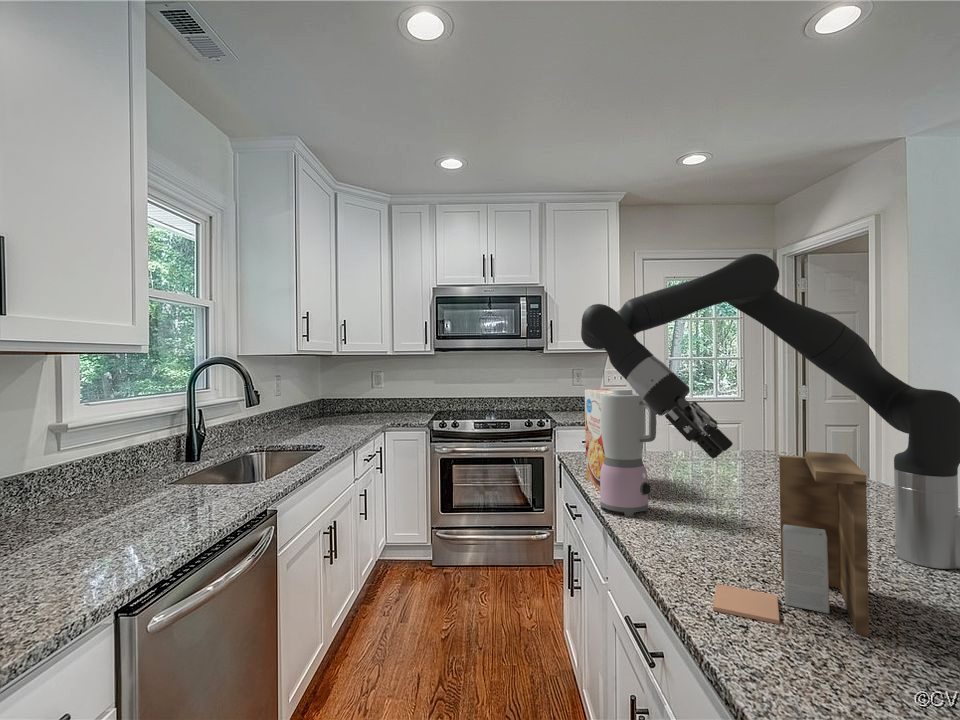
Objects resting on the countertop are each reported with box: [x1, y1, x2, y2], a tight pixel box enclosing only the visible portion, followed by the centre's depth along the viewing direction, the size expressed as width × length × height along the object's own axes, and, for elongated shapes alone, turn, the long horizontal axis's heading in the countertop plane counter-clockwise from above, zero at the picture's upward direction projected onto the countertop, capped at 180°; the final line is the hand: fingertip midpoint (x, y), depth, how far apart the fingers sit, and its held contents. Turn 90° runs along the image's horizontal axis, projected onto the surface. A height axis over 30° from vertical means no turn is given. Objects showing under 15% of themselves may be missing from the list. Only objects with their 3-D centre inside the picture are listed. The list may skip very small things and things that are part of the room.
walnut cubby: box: [778, 451, 870, 637], centre depth 80 cm, size 10×18×23 cm, turn 151°
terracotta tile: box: [712, 583, 780, 625], centre depth 80 cm, size 9×9×1 cm
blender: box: [599, 388, 657, 518], centre depth 130 cm, size 16×12×32 cm
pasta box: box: [584, 388, 613, 492], centre depth 156 cm, size 23×8×30 cm, turn 2°
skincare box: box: [782, 524, 830, 615], centre depth 80 cm, size 6×4×12 cm
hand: (723, 451), depth 87 cm, fingers open, 8 cm apart
